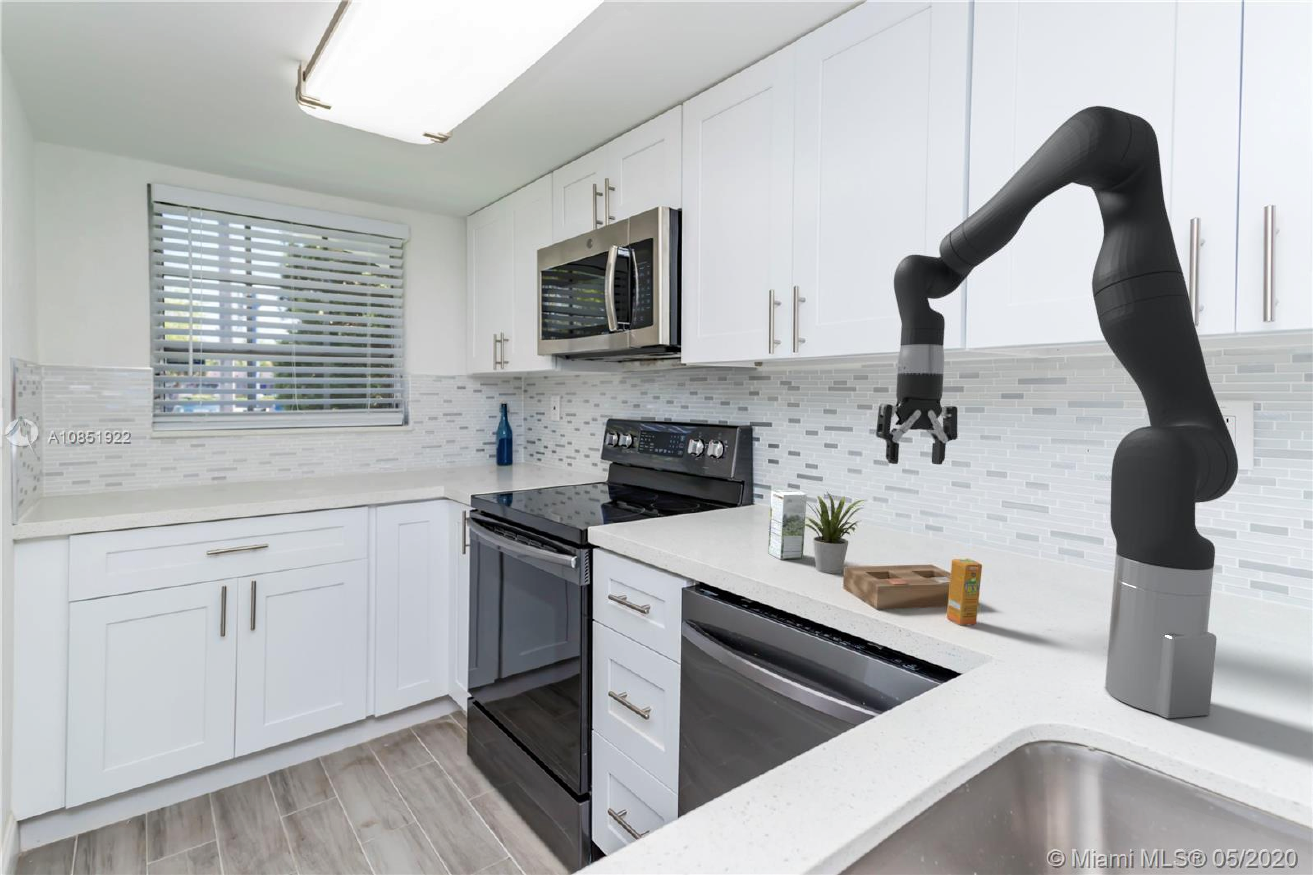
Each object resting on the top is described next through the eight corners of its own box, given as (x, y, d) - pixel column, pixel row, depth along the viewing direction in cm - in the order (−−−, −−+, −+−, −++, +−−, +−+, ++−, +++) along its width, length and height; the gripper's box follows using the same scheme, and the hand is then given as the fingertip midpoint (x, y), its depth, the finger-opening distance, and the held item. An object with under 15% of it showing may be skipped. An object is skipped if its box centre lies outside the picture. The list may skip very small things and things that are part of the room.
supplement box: (961, 626, 102) (965, 564, 101) (945, 619, 105) (949, 558, 104) (978, 625, 103) (982, 563, 102) (963, 617, 106) (966, 557, 105)
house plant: (886, 573, 131) (890, 493, 129) (845, 585, 122) (849, 499, 121) (827, 558, 142) (831, 484, 141) (786, 567, 133) (789, 489, 132)
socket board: (971, 605, 112) (973, 582, 112) (876, 609, 109) (878, 585, 108) (930, 585, 124) (931, 563, 123) (843, 587, 120) (844, 565, 120)
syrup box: (790, 552, 146) (793, 488, 145) (804, 559, 141) (807, 493, 139) (767, 553, 144) (770, 489, 143) (780, 560, 139) (783, 493, 138)
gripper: (894, 370, 108) (889, 466, 110) (970, 372, 111) (964, 466, 112) (871, 371, 116) (867, 461, 117) (943, 373, 118) (938, 462, 119)
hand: (915, 463), depth 115 cm, fingers open, 8 cm apart
